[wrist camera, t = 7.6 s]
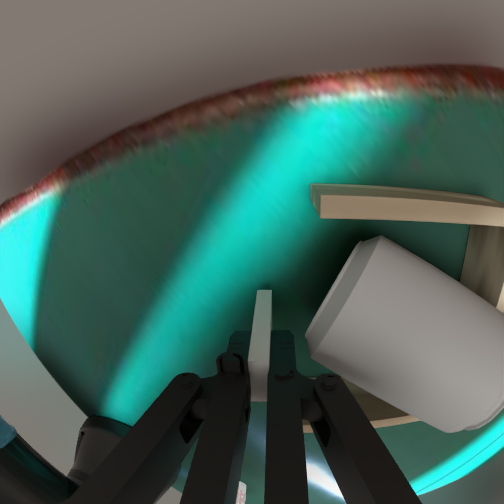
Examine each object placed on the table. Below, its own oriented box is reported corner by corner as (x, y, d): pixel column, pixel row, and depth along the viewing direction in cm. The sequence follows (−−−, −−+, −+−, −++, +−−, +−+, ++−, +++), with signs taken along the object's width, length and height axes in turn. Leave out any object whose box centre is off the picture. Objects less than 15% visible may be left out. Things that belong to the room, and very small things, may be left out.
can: (314, 326, 19) (444, 401, 15) (278, 371, 12) (460, 466, 8) (368, 229, 17) (503, 314, 13) (363, 222, 10) (553, 350, 6)
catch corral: (436, 373, 20) (455, 411, 15) (300, 385, 21) (300, 432, 17) (482, 195, 15) (526, 211, 10) (310, 183, 16) (320, 195, 11)
